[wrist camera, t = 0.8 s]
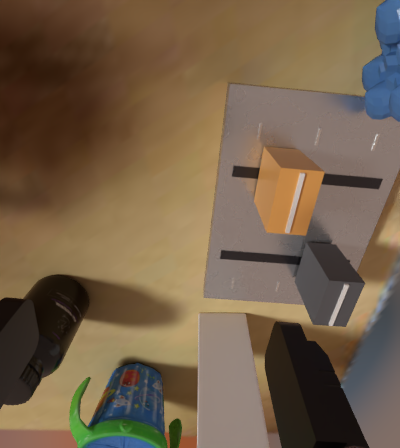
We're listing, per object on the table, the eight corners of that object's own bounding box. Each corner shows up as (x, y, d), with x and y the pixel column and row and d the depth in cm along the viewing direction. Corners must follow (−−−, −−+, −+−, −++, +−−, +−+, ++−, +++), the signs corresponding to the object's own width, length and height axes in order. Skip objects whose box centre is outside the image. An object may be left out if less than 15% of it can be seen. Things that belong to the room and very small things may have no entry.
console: (227, 82, 25) (230, 83, 23) (411, 100, 26) (428, 103, 24) (203, 286, 35) (203, 298, 33) (334, 295, 36) (342, 307, 34)
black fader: (306, 242, 29) (330, 282, 24) (335, 244, 30) (366, 284, 24) (294, 281, 32) (313, 326, 26) (321, 283, 32) (346, 328, 26)
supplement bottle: (96, 283, 35) (51, 377, 25) (84, 322, 38) (38, 420, 28) (38, 265, 34) (-37, 355, 23) (29, 306, 37) (-40, 402, 26)
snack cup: (200, 386, 44) (200, 468, 35) (152, 414, 48) (141, 495, 39) (119, 332, 39) (95, 412, 30) (72, 368, 42) (38, 449, 33)
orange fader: (264, 146, 25) (281, 168, 20) (298, 149, 25) (325, 172, 20) (253, 200, 27) (266, 233, 22) (285, 203, 27) (306, 237, 22)
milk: (242, 344, 40) (282, 607, 21) (197, 344, 40) (195, 607, 21) (245, 311, 37) (295, 581, 18) (197, 311, 37) (195, 581, 18)
